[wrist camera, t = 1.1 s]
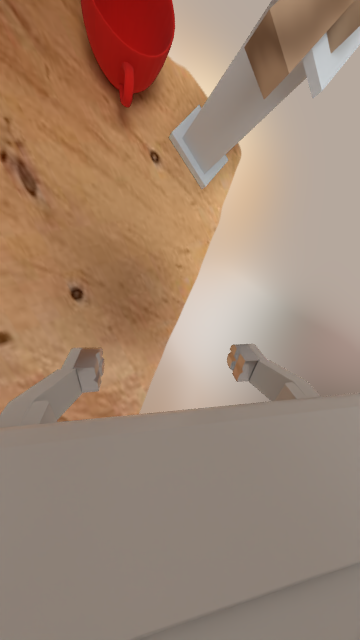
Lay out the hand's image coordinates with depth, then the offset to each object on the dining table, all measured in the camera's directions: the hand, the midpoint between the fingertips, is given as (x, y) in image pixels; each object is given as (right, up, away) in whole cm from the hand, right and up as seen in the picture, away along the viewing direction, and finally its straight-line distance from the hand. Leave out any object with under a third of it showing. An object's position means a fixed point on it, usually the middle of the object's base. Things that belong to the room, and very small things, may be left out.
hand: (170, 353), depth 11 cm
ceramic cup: (-11, +46, +22) cm, 52 cm away
